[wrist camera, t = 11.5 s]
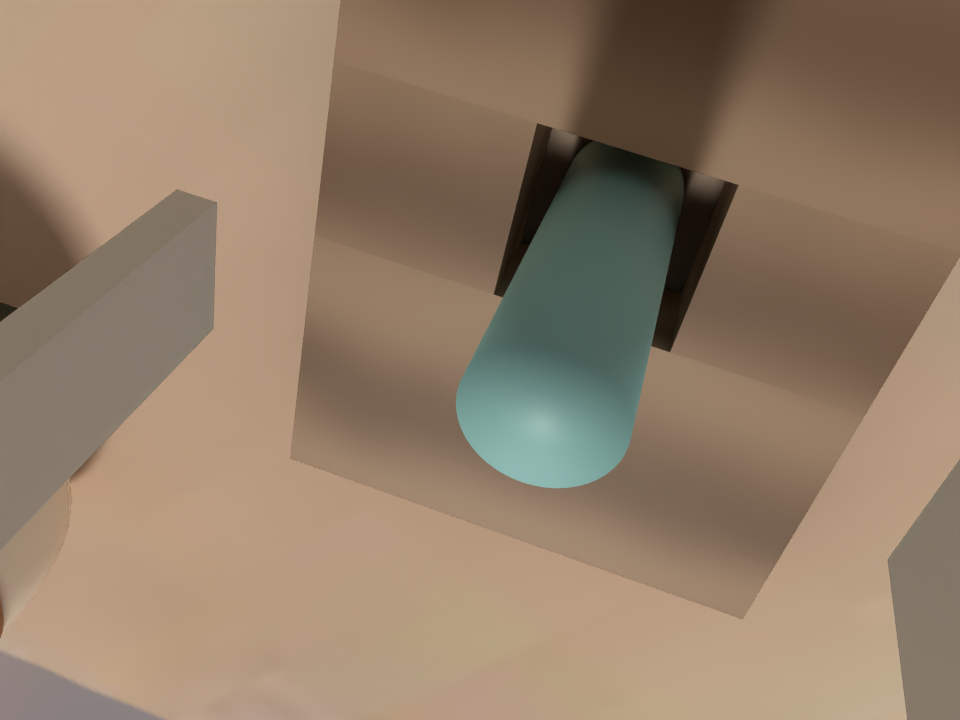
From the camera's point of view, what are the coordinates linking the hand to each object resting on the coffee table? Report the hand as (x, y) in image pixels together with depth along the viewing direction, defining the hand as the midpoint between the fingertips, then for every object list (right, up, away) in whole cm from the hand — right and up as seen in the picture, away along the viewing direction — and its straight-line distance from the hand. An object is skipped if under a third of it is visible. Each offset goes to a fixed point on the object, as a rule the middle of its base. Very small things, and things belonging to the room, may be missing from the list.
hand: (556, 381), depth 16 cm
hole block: (+2, +5, +8) cm, 9 cm away
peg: (+2, +5, +7) cm, 9 cm away
